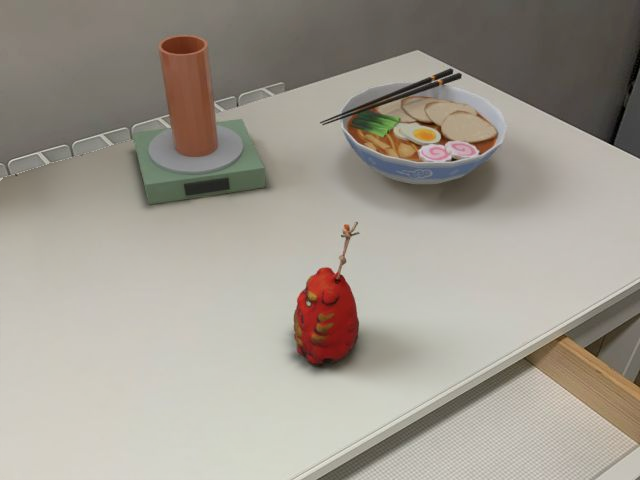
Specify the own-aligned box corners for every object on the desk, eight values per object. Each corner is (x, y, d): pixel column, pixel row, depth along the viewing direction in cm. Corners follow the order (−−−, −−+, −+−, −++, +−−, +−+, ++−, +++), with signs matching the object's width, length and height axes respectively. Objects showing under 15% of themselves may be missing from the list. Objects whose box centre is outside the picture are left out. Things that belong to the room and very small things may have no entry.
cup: (195, 161, 89) (181, 59, 79) (165, 146, 92) (148, 45, 82) (227, 144, 92) (217, 44, 82) (197, 130, 95) (184, 30, 85)
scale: (149, 206, 89) (144, 182, 86) (136, 152, 97) (131, 129, 95) (265, 188, 92) (264, 165, 89) (243, 138, 100) (241, 115, 98)
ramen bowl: (401, 238, 85) (409, 179, 79) (299, 160, 97) (298, 104, 90) (535, 178, 95) (551, 121, 88) (427, 114, 106) (435, 59, 100)
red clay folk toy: (287, 326, 75) (283, 208, 63) (347, 317, 76) (355, 200, 64) (302, 375, 70) (301, 257, 58) (366, 364, 71) (378, 247, 59)
